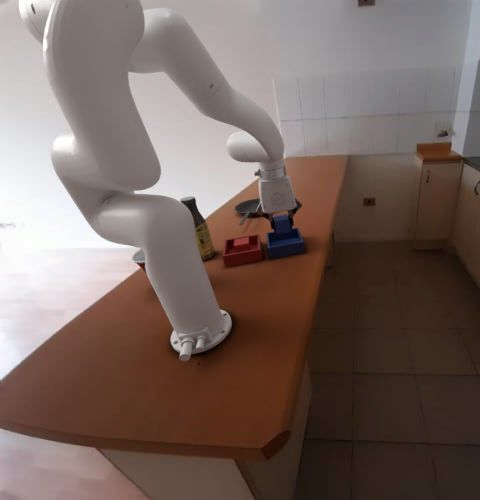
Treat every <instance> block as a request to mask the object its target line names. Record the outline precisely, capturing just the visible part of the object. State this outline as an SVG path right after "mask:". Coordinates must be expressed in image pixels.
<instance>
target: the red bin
mask: <svg viewBox="0 0 480 500" xmlns="http://www.w3.org/2000/svg"><path fill="white" fill-rule="evenodd" d="M246 237H249V241H250V245H251V249H252V250H250V251H244V252H238V253H236V252H235V248H234V240H235V239H240V238H246ZM262 245H263V244H262V239H261V234H260V233H256V234H251V235H246V236H239V237H232V238H227V239H226V238H225V239H224V245H223V249H222V260H223V263H224V267H225V268H229V267H235V266H240V265H244V264H245V265H246V264H250V263H255V262H262V261H263V258H264V257H263V246H262Z"/></svg>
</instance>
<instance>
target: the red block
mask: <svg viewBox="0 0 480 500" xmlns="http://www.w3.org/2000/svg"><path fill="white" fill-rule="evenodd" d="M234 248H235V252H236V253H238V252H244V251H250V250H252V249H251V245H250V241H249V237H246V238H240V239H235V240H234Z"/></svg>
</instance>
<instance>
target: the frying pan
mask: <svg viewBox="0 0 480 500" xmlns="http://www.w3.org/2000/svg"><path fill="white" fill-rule="evenodd" d="M260 202H261V200H260V197H259V198H258V197H257V198H253V199H248V200H244V201H241V202H239V203H238V204H236V205H235V206H234V211H235V212H236V213H238V214H239V215H241V216H243V217H242V219H241V221H240V222H239V224H238V226H243V225H244V224H245V222H246V220H247V219H248V218H255V217H259V216H261V215H259V214H257V213H256V209H257V208H258V206H259V204H260ZM262 211H263V210H262ZM261 217H262V216H261Z"/></svg>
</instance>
